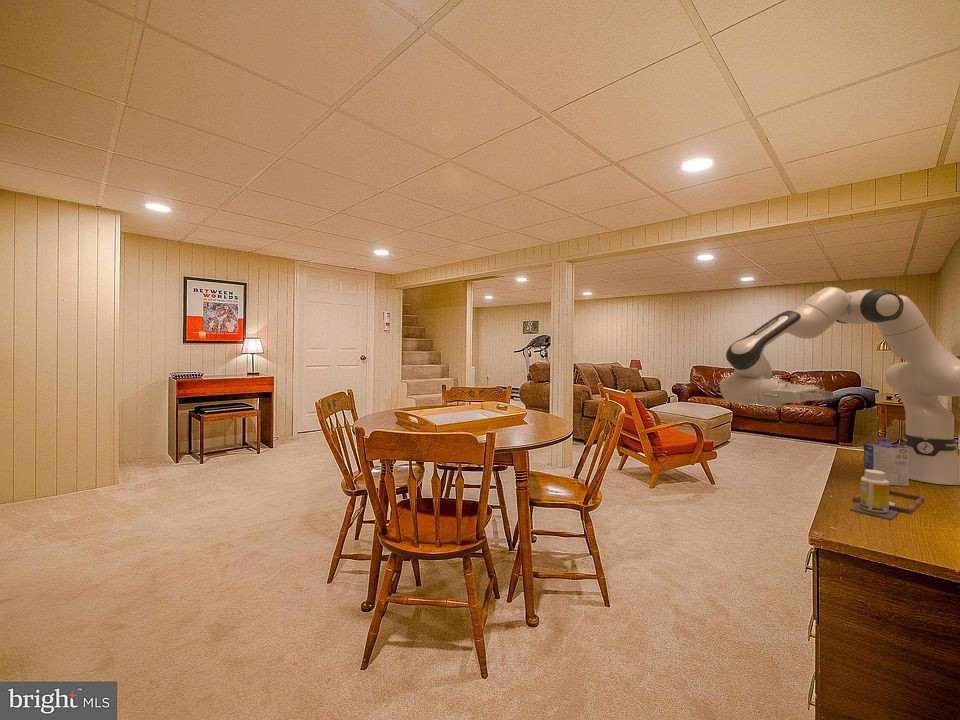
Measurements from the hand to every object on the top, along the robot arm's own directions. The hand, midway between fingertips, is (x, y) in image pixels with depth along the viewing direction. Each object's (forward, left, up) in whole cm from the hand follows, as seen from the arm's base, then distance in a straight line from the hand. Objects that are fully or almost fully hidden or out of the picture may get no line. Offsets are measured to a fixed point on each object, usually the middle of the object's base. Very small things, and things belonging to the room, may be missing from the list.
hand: (828, 396), depth 126 cm
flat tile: (-4, +12, -30) cm, 32 cm away
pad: (+6, +12, -29) cm, 32 cm away
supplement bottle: (+6, +12, -29) cm, 32 cm away
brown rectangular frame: (-8, +12, -29) cm, 32 cm away
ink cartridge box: (-30, +7, -29) cm, 42 cm away
